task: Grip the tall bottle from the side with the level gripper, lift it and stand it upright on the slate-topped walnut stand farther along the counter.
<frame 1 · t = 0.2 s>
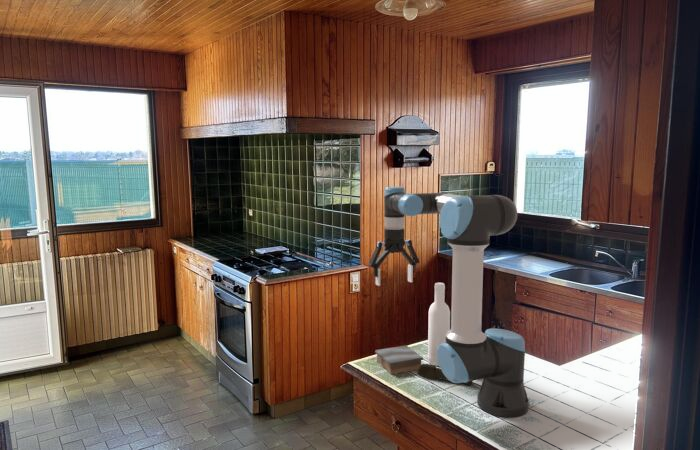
hand: (394, 283, 192), 28 cm above the counter, tool pointing down, fingers open, 13 cm apart
slate stand: (398, 365, 186), on the counter
bottle: (438, 362, 188), on the counter
hand tool: (444, 381, 173), on the counter
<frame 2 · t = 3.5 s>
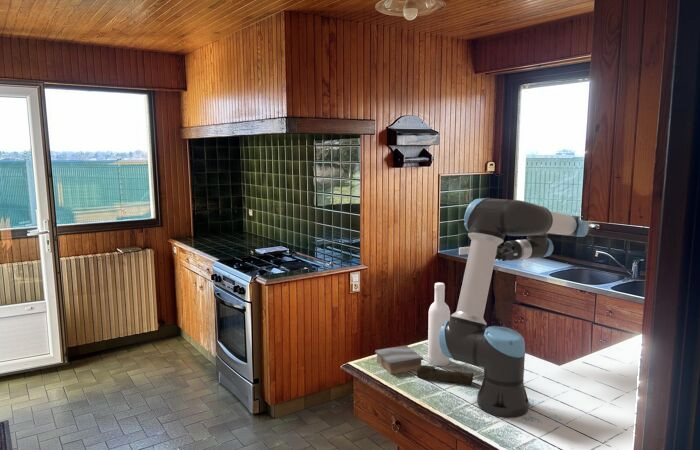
hand: (469, 254, 187), 40 cm above the counter, tool horizontal, fingers open, 13 cm apart
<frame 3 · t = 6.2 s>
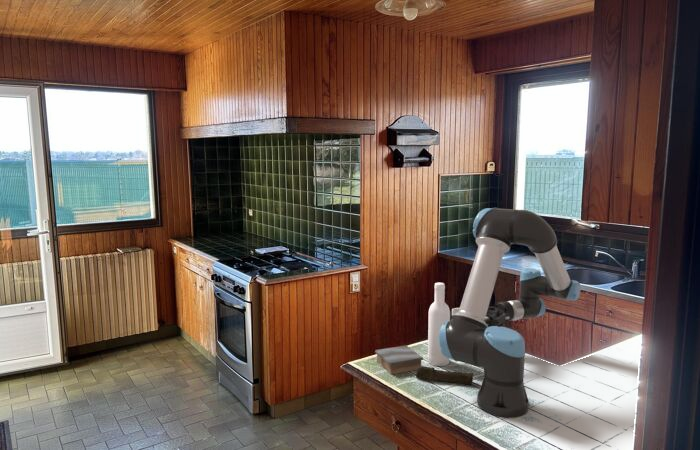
hand: (462, 317, 190), 16 cm above the counter, tool horizontal, fingers open, 13 cm apart
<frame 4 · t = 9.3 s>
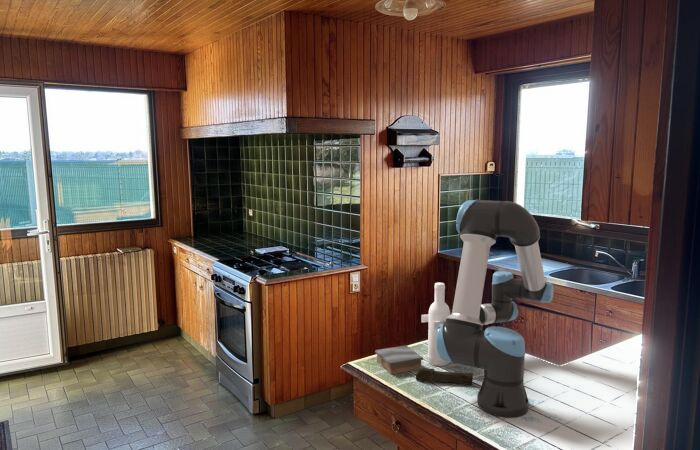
hand: (427, 322, 184), 16 cm above the counter, tool horizontal, fingers closed on bottle, 8 cm apart
bottle: (438, 362, 188), on the counter, touching gripper
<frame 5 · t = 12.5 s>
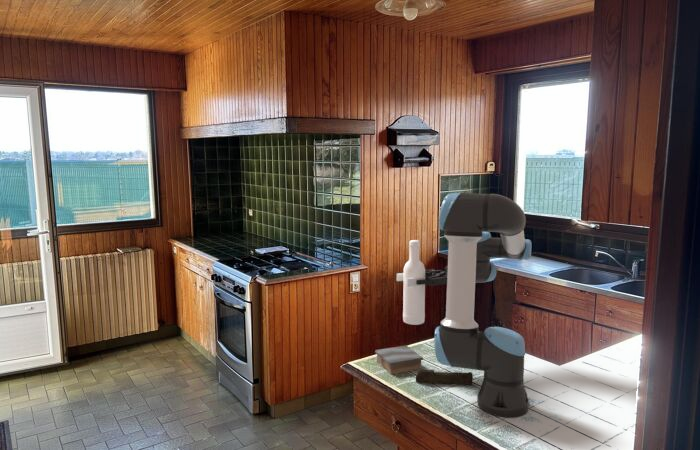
hand: (402, 279, 182), 32 cm above the counter, tool horizontal, fingers closed on bottle, 8 cm apart
bottle: (413, 322, 186), point 16 cm above the counter, touching gripper
when the fingers open (22 cm above the counter, at t = 15.9 s): bottle drops 1 cm, resting on slate stand.
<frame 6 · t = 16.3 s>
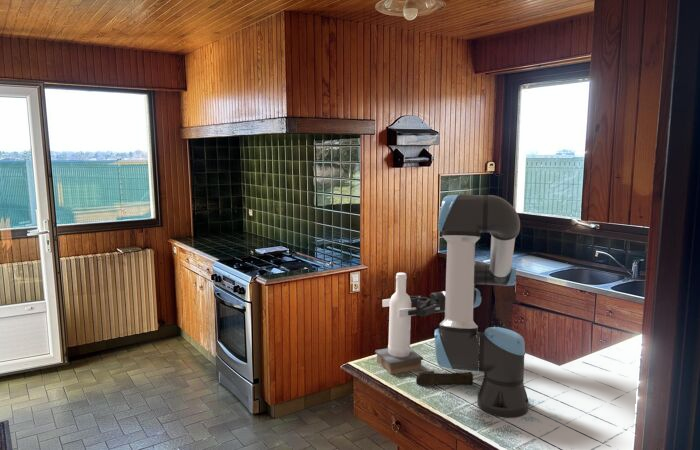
hand: (390, 308, 181), 22 cm above the counter, tool horizontal, fingers open, 13 cm apart
bottle: (398, 354, 185), point 4 cm above the counter, touching slate stand
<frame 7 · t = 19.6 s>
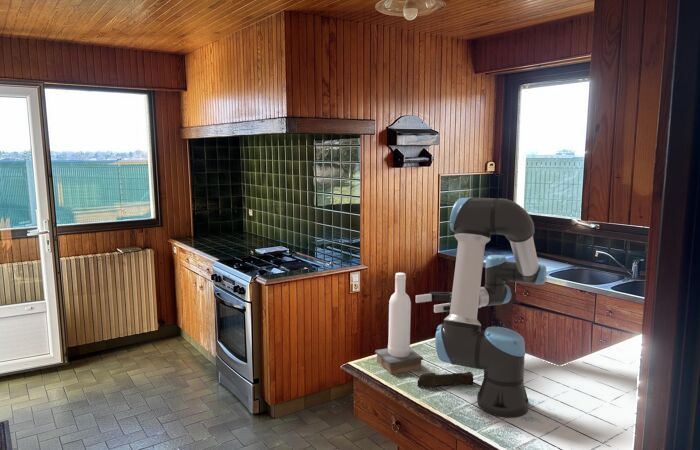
hand: (424, 303, 186), 22 cm above the counter, tool horizontal, fingers open, 13 cm apart
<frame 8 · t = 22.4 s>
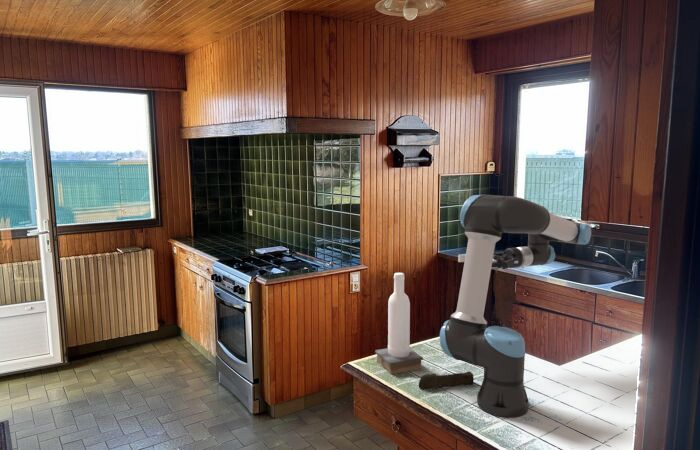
hand: (469, 261, 183), 38 cm above the counter, tool horizontal, fingers open, 13 cm apart
at the end: bottle inside the target area on the slate stand (0.1 cm from its centre), point 4.2 cm above the slate stand's base; bottle tilted 0°; the gripper is holding nothing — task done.
